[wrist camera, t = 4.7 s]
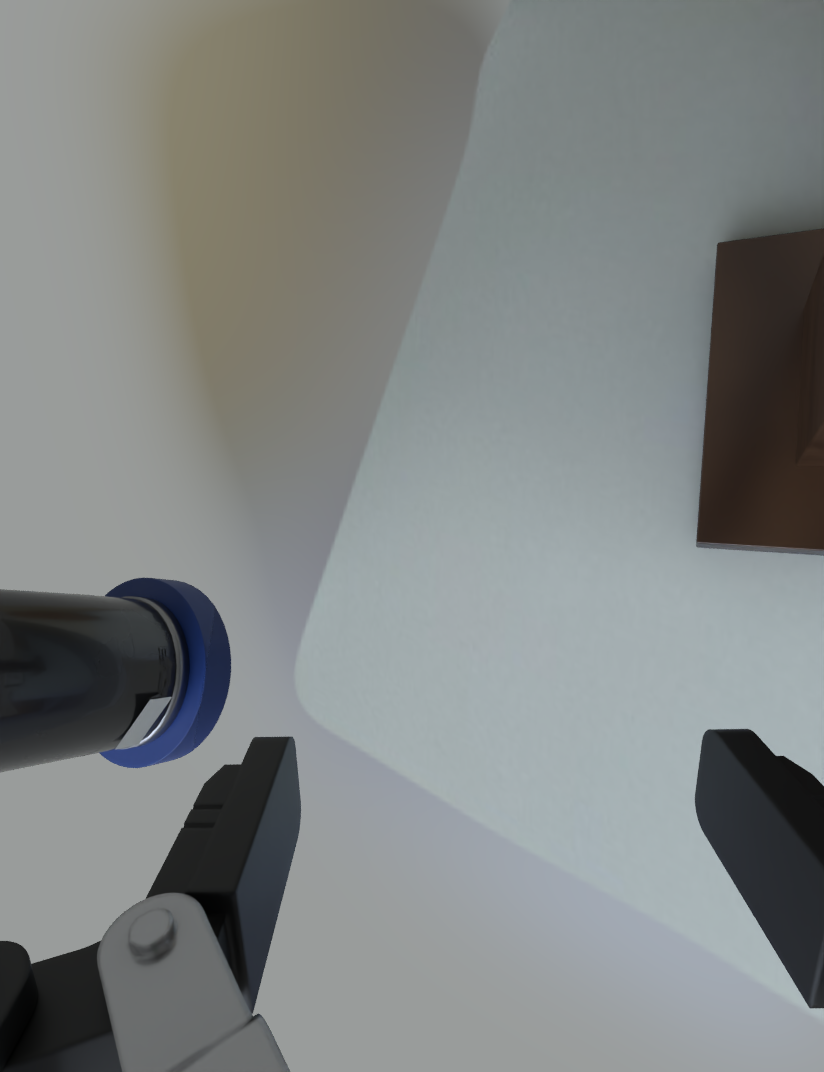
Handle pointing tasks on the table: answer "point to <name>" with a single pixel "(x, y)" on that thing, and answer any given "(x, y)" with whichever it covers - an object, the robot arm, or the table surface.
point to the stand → (765, 398)
